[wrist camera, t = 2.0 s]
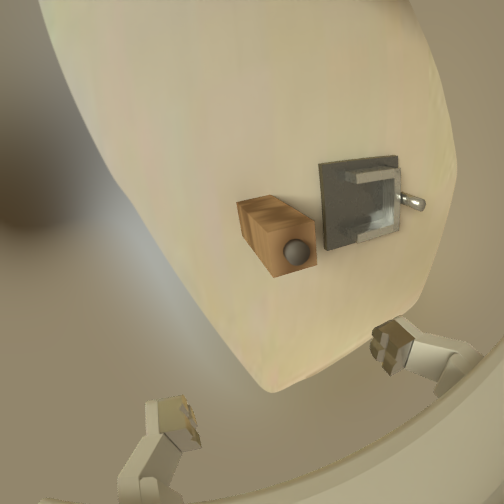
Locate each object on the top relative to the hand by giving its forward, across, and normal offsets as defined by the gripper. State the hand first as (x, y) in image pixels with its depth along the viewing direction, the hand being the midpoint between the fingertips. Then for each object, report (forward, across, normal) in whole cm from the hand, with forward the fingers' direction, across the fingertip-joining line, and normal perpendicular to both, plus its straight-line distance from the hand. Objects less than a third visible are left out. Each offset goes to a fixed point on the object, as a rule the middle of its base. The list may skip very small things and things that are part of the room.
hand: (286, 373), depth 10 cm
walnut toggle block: (+30, -7, +3) cm, 31 cm away
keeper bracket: (+30, -26, +5) cm, 39 cm away
